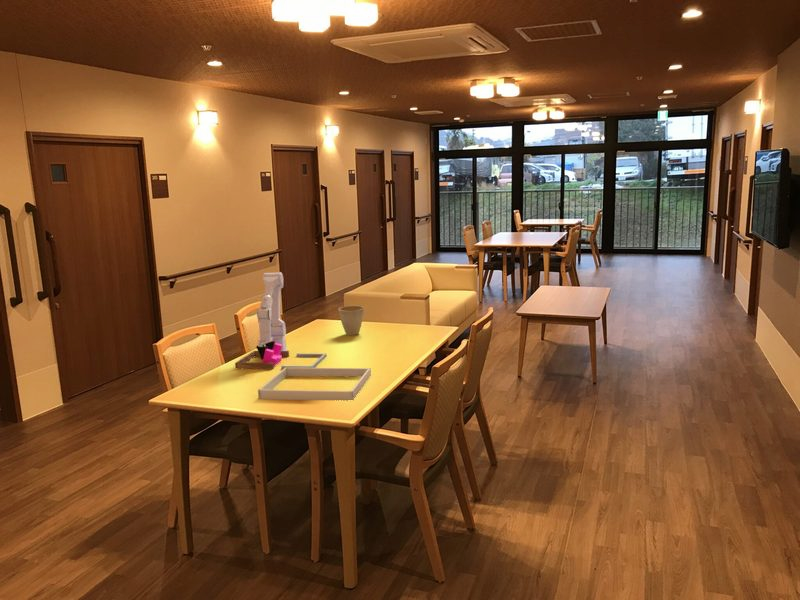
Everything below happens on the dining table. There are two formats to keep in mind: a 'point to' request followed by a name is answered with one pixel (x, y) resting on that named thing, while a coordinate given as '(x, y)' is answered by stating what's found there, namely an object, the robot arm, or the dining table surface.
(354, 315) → the plant pot
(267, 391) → the frame
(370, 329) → the dining table surface
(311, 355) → the frame
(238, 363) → the walnut stall
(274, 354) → the toy block
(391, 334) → the dining table surface
